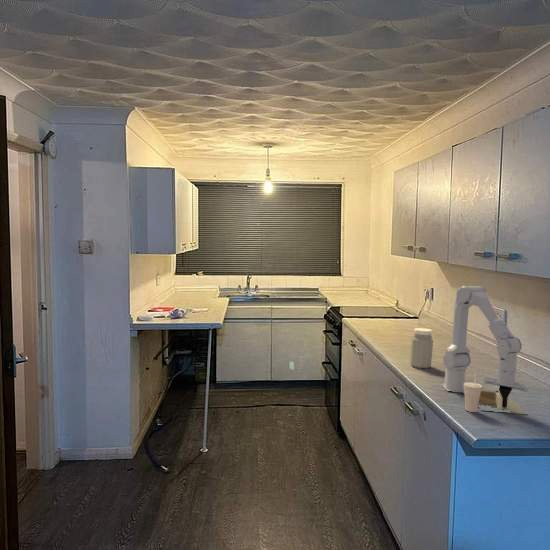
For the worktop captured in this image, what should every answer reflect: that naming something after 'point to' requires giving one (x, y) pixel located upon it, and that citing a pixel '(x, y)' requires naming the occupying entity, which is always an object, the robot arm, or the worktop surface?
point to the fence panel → (498, 401)
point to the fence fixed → (487, 396)
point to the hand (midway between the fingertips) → (504, 406)
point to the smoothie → (472, 395)
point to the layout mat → (510, 406)
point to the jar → (421, 348)
